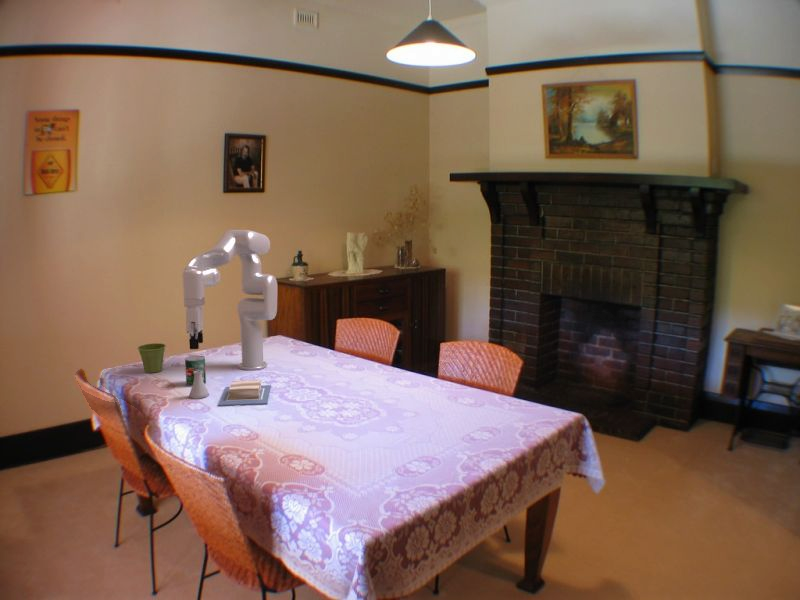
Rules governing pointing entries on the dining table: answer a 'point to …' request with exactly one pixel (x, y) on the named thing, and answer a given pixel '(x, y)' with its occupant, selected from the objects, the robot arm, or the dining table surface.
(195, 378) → the flask
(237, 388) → the birch plinth
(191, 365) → the canned tomato
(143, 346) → the plant pot
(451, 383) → the dining table surface
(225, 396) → the board
